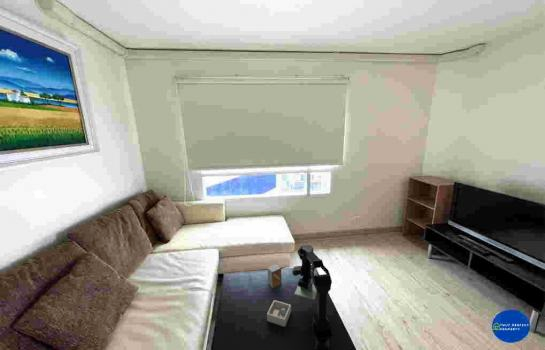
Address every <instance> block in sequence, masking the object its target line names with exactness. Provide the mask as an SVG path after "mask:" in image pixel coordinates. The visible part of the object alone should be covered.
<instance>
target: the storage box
mask: <svg viewBox="0 0 545 350" xmlns="http://www.w3.org/2000/svg"><path fill="white" fill-rule="evenodd" d="M291 313H292V304H289V303H286V302H283V301H278V300H274V299H273V301H272V303H271V305H270V307H269V309H268V311H267V313H266V320H267V322H269V323H272V324H275V325H278V326H281V327H284V328H285V327H286V326H287V323H288V321H289V318H290V315H291Z"/></svg>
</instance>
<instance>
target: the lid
mask: <svg viewBox="0 0 545 350" xmlns="http://www.w3.org/2000/svg"><path fill="white" fill-rule="evenodd" d="M296 286H297V287H296V289H295V291H294V296H297V297H302V298H305V299H309V300H314V301H315V299H316V297H317V290H316V288H315V286H314V284H313V282H312V283H311V282H310V285H309V288H308V289H305V288H303V287H299V286H298V285H296Z"/></svg>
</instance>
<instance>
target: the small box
mask: <svg viewBox="0 0 545 350" xmlns="http://www.w3.org/2000/svg"><path fill="white" fill-rule="evenodd" d="M266 269H267V285H269V286H270V287H271V289H274V288H276V287H278V286H280V285H281V284H282V268H281V266H279V265H278V264H277V263H276V264H273V265H270V266H269V267H267V268H266Z"/></svg>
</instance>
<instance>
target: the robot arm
mask: <svg viewBox="0 0 545 350" xmlns="http://www.w3.org/2000/svg"><path fill="white" fill-rule="evenodd" d="M297 255H298V257H299V259H300V260H301V265H295V266H293V268H292V272H291V273H292V275H293V276H294V277H296V276H298V275H300V277H301V278H299V280H298V281H297V286H299V287H303V288H305V289H308V288H309V285H310V283H311V282H312V284H314V286H315V288H316V290H317V292H316V313H313V314H312V322H311V330H312V337H313V339H314V340H315V348H314V350H330V343H331V342H330V341H329V340H333V338H334V337H333V331H332V328H331V327H332V326H331V323H330V321H329V319H328V317H327V305H328V304H327V303H328V300H327V299H328V293H329V292H330V291H331V289H332V283H333V281H332V277H331V274H330V271H329V269H328V268H327V267H326V266H325V265H324V262H323V259H320V257H318V255H317V253H315V252H314V247H313V246H312V245H311V244H309V245H308V244H307V245H302V246H300V248H299V249H298V250H297ZM320 268H321V270H322V271H323V272H324V273H325V274H317V275H316V274H315V273H314V272H315V269H320Z"/></svg>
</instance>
